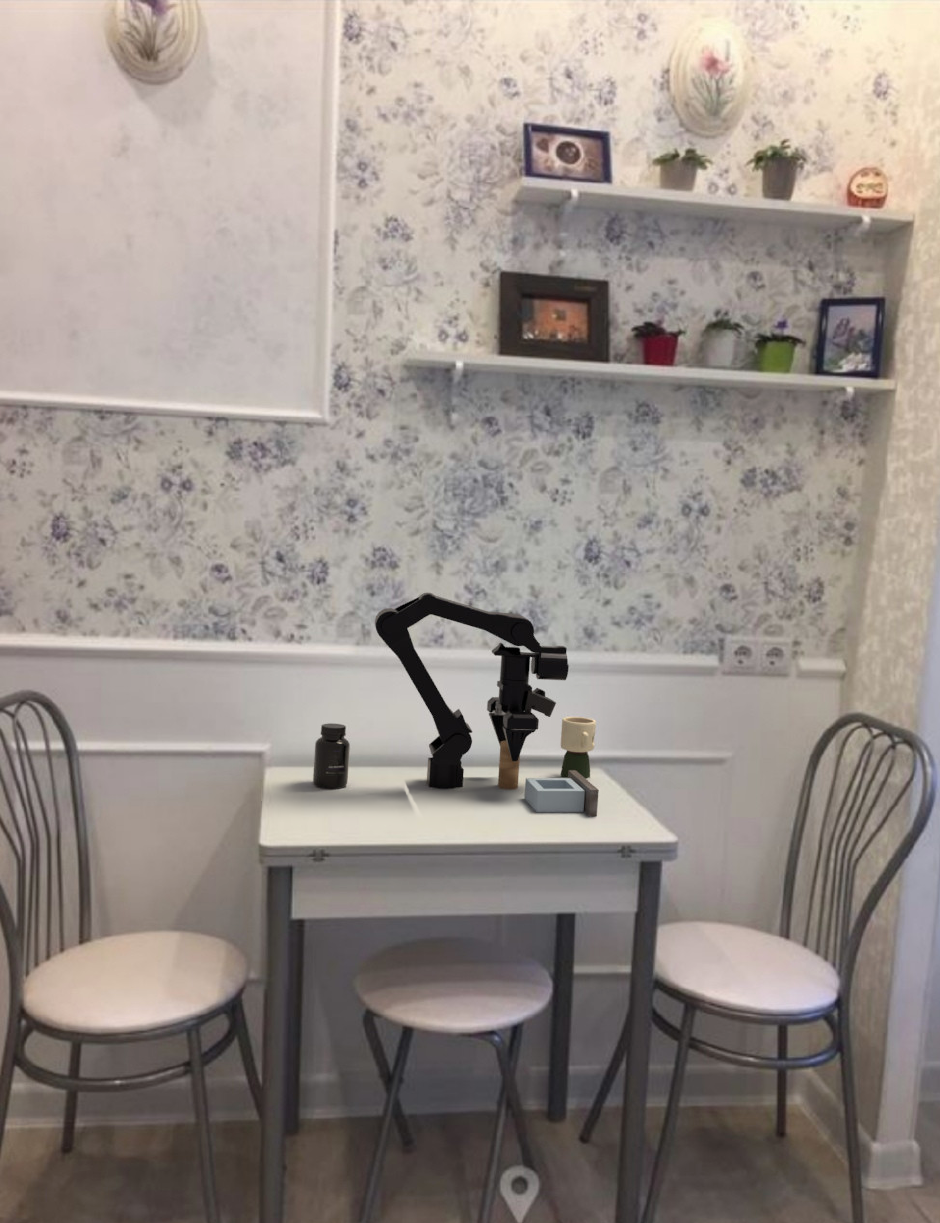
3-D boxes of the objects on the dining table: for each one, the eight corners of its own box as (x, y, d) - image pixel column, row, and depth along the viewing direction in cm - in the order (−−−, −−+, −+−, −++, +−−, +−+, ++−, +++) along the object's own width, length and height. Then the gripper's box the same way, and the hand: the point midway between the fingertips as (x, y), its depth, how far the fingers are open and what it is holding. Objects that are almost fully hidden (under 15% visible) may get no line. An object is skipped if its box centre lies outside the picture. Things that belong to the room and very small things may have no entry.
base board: (501, 822, 186) (503, 789, 185) (484, 800, 199) (486, 769, 199) (596, 821, 189) (598, 789, 189) (573, 800, 203) (575, 770, 203)
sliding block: (536, 812, 190) (538, 790, 189) (524, 798, 198) (525, 778, 198) (583, 811, 191) (584, 790, 191) (569, 798, 200) (570, 778, 200)
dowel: (500, 794, 204) (503, 745, 203) (495, 789, 208) (498, 740, 207) (519, 794, 205) (522, 745, 204) (514, 789, 209) (517, 740, 208)
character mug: (600, 786, 214) (604, 725, 213) (567, 787, 213) (571, 725, 211) (582, 773, 225) (586, 714, 224) (551, 773, 223) (555, 714, 222)
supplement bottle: (333, 791, 200) (336, 730, 198) (305, 785, 203) (308, 725, 202) (354, 784, 206) (357, 725, 204) (327, 778, 209) (329, 720, 208)
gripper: (566, 687, 197) (561, 767, 198) (540, 671, 215) (535, 745, 216) (510, 686, 195) (505, 767, 196) (488, 670, 213) (484, 744, 214)
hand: (509, 755), depth 206 cm, fingers open, 9 cm apart
